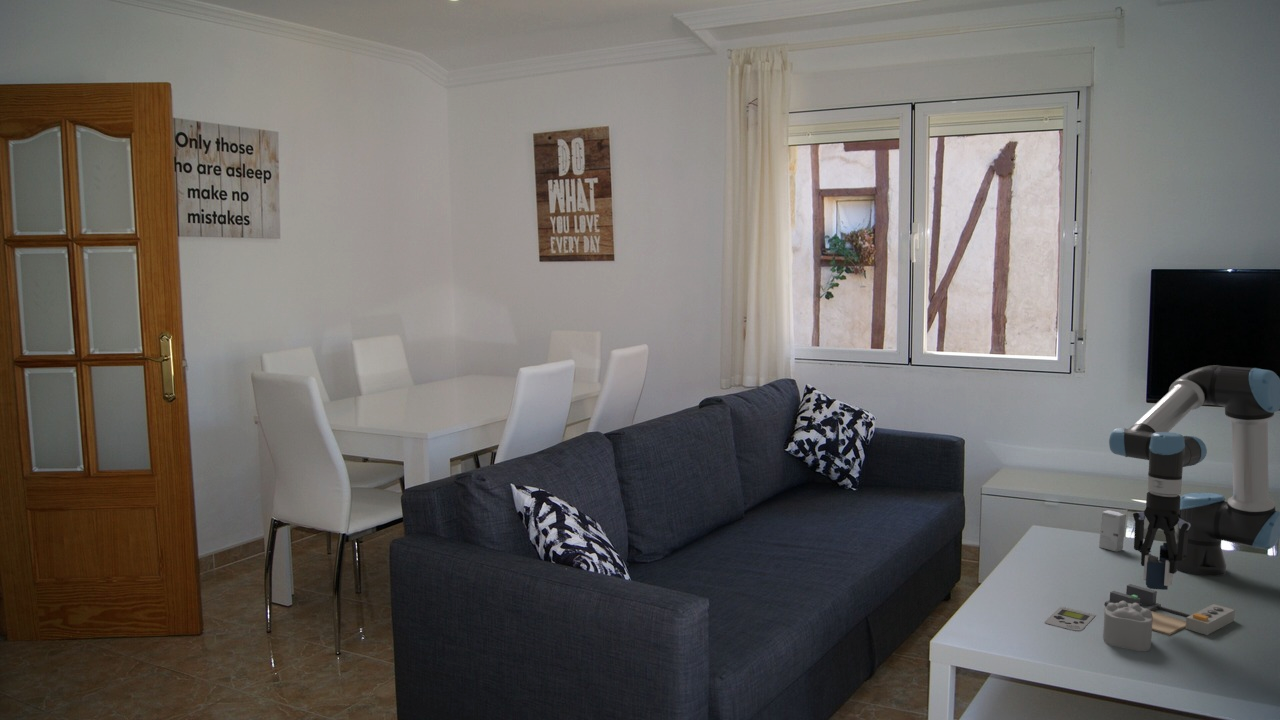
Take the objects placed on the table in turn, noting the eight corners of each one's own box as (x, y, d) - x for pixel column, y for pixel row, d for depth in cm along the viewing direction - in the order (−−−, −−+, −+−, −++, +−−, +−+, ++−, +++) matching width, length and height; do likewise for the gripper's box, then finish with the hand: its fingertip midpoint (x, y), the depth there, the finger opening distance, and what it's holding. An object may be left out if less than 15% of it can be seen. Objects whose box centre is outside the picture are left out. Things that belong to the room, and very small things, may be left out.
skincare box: (1098, 547, 297) (1100, 511, 296) (1105, 545, 300) (1107, 509, 298) (1117, 552, 292) (1119, 515, 291) (1124, 549, 295) (1126, 513, 293)
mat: (1142, 610, 242) (1142, 608, 242) (1190, 624, 232) (1190, 622, 232) (1120, 620, 235) (1120, 618, 235) (1168, 635, 225) (1169, 633, 225)
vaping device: (1169, 590, 231) (1172, 544, 230) (1147, 588, 232) (1150, 543, 231) (1166, 587, 233) (1169, 541, 232) (1144, 585, 234) (1146, 540, 233)
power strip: (1212, 614, 239) (1213, 601, 239) (1233, 620, 235) (1234, 606, 235) (1185, 628, 230) (1186, 614, 229) (1207, 635, 226) (1208, 620, 225)
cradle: (1124, 596, 252) (1125, 580, 252) (1205, 619, 235) (1206, 602, 235) (1104, 605, 246) (1105, 588, 245) (1186, 629, 229) (1187, 612, 228)
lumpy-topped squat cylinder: (1101, 644, 220) (1103, 609, 219) (1104, 626, 231) (1106, 593, 230) (1150, 653, 215) (1153, 618, 214) (1151, 634, 226) (1153, 601, 225)
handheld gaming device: (1043, 621, 233) (1060, 605, 244) (1043, 624, 233) (1060, 608, 244) (1080, 630, 227) (1096, 613, 238) (1080, 633, 227) (1096, 616, 238)
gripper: (1121, 488, 235) (1116, 575, 237) (1194, 502, 221) (1187, 594, 223) (1135, 484, 239) (1130, 570, 242) (1207, 498, 225) (1200, 588, 228)
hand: (1157, 581), depth 232 cm, fingers closed on vaping device, 4 cm apart
